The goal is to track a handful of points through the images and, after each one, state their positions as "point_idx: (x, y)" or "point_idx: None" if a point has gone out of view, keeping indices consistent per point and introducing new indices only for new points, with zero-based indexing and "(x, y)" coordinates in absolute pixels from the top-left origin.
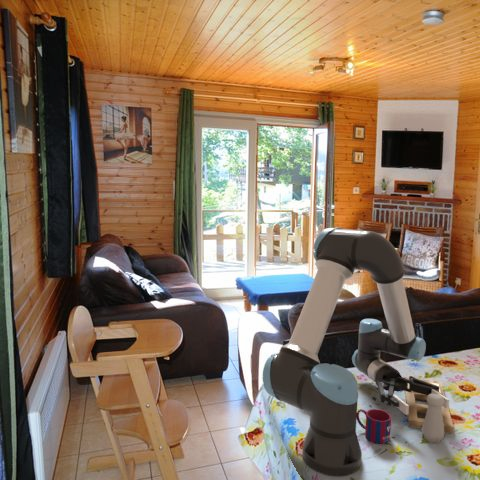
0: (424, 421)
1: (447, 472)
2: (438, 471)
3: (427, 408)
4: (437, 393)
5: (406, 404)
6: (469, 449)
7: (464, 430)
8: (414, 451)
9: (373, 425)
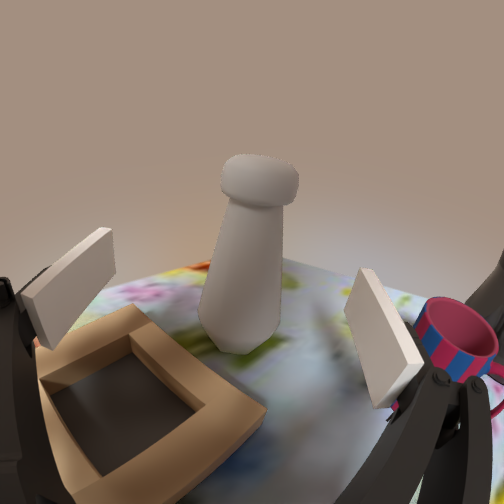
0: (275, 295)
1: (298, 266)
2: (315, 272)
3: (64, 427)
4: (68, 265)
5: (368, 275)
6: (176, 277)
7: (87, 314)
8: (333, 321)
9: (464, 326)
